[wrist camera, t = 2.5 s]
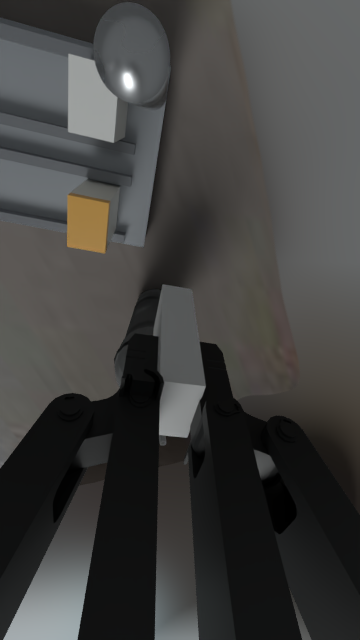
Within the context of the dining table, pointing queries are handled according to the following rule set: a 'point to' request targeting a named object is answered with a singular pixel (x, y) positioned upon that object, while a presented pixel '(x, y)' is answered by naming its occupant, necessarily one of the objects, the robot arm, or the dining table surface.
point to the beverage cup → (139, 331)
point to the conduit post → (133, 55)
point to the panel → (64, 139)
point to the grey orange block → (92, 215)
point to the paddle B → (93, 103)
